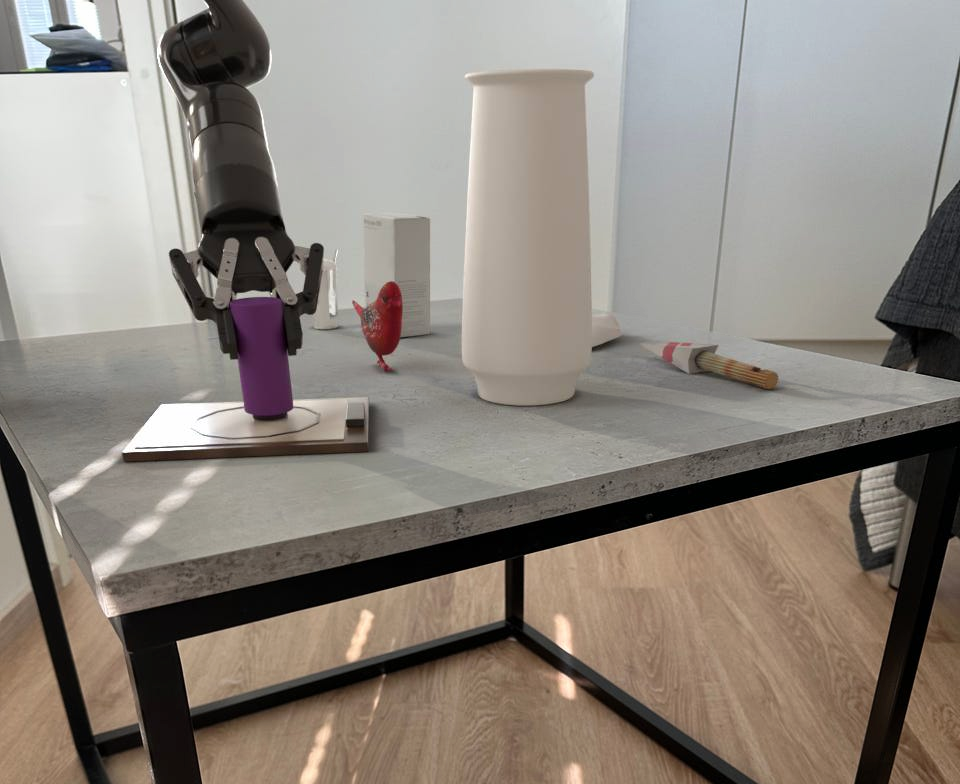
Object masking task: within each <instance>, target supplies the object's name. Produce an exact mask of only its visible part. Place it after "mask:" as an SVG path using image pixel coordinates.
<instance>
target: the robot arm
mask: <svg viewBox="0 0 960 784" xmlns="http://www.w3.org/2000/svg"><path fill="white" fill-rule="evenodd" d="M202 1H203V2H204V4H206V6H207V8H206V9H204V10H202V11H200V12H198V13H196V14H194V15H191V16H189V17H187V18H186V19H184V20H181V21H179V22H178V23H175V24H173V25H172V26H169V28H167V29H166V30H165V31H164V32H163V33H162V35H161V37H160V39H159V43H158V47H157V59H158V64H159V67H160V69H161V71H162V74H163V76H164V78H165V81H166V82H167V83H168V85H169V86H170V89H171V90H172V92H173V94H174V95H175V97H176V99H177V101H178V104H179V106H180V108H181V110H182V113H183V116H184V119H185V122H186V125H187V130H188V137H189V143H190V149H191V159H192V160H191V174H192V182H193V195H194V198H195V202H196V209H197V215H198V222H199V228H200V229H199V230H200V237H201V238H200V241H199V243H198V245H197V249H195V250H192V251H188V252H183V250H182V249H180V248H172V249H170V250H169V251H168V257H169V264H170V268H171V273H172V276H173V278H174V280H175V282H176V283H177V286H178V288H179V290H180V291H181V293H182V295H183V297H184V300H185V302H186V303H187V305H188V307H189V309H190V311H191V313H192V315H193V316H194V318H195V319H196V321H199V322H204V321H206V320H208V321H209V320H210V321H212V322H214V323H215V325H216V329H217V335H218V343H219V348H220V351H221V353H222V354H223V355H227V354H228V355H229V360H230V361H232V360H233V361H234V360H238V351H237V343H236V337H235V330H234V324H233V318H232V312H231V307H230V302H231V301H233V300H236V299H237V297H238V294H246V293H248V292H252V291H254V292H259V293H260V292H261V293H266V292H267V293H268V295H269V297H274V298H279V299H281V300H282V306H283V317H284V326H285V335H286V344H287V352H288V357H295V356H297V353H298V352H297V350H301V349H302V348H303V345H304V343H303V342H304V341H303V336H304V334H303V329H302V323H301V316H302V315H309V316H312V314H314V313H315V312H316V309H317V303H318V297H319V291H320V285H321V279H322V272H323V261H324V259H325V255H324V254H325V253H324V252H325V248H324V246H323V245H322V244H321V243H319V242H313V243H312V244H311V245H310V247H306V246H305V247H304V246H299V245H295V243H294V240H292V238H291V237H290V235H289V234H288V232H287V228H286V223H285V217H284V211H283V205H282V200H281V195H280V189H279V184H278V179H277V173H276V168H275V164H274V161H273V158H272V155H271V153H270V150H269V144H268V138H267V133H266V127H265V121H264V116H263V111H262V108H261V106H260V104H259V102H258V100H257V98H256V97H255V95H254V94H253V93H252V92H251V91H250V90H249V89H248V88H250V87H252V86H254V85H257V84H259V83H261V82H262V81H263V80H265V79H266V78H267V76H268V75H269V74H270V72H271V67H272V48H271V44H270V41H269V37H268V36H267V33H266V31H265V29H264V28H263V25H262V24H261V22H260V21H259V20H258V18H257V17H256V15H255V14H254V12H253V11H252V10H251V9H250V8H249V6H248V5H247V4H246V2H245V1H244V0H202ZM294 262H297V263H298V265H299V270H300V271H301V272H302V273H303V275H304V276H305V277H304V281H303V287H302V291H299V292H297V293H295V291H294V289H293V287H292V285H291V284H290V281H289V278H288V275H287V272H288V270H290V268H291V266H292V264H293V263H294ZM201 266H202V267H203V268H204V269H206V271H208V272H209V273H210V274H211V275H212V276H213V277H214V278H215V279H216V281H217V282H216V283H217V284H216V289H215V294H214V298H212V297H209V296H206V294H205V292H204V290H203V289H202V287H201V284H200V283H199V281H198V279H197V278H198V277H199V275H200V273H199V272H200V271H199V268H200V267H201Z"/></svg>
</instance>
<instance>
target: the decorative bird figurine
mask: <svg viewBox="0 0 960 784" xmlns="http://www.w3.org/2000/svg"><path fill="white" fill-rule="evenodd" d="M351 303H352V306H353V307H354V309H355V311H356V313H357V314H358V316H359V319H360V327H361V330H362V334H363V337H364V338H365V340H366V343H367V345H368V347H369V348H370V350H371V351H372V352H373V353H374V354H375V355H376V357H377V358H378V360H377V362H376V365H378V367H380V368H381V369H382V370H383V371H384V372H388V371H390V372H393V370H392V368H390V366H389V365H388V364H386V361H385V360H384V358H383V356H388V355H392V354H393V353H394V352H395V350H396V349H397V347H398V345H399V343H400V340H401V337H400V336H401V330H402V312H403V305H402V295H401V291H400V289H399V287H398V285H397V284H396V283H395V282H393V281H390V282H387V283H386V284H385V285H384V286H383V287H382V288H381V289H380V292H379V294H378V297H377V300H376V301H375V302H373V303H370V304H369V305H368V306H366V307H365V306H364V307H362V306H361V304H359V303H358V302H357V301H355V300H352V301H351Z"/></svg>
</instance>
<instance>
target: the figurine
mask: <svg viewBox="0 0 960 784" xmlns="http://www.w3.org/2000/svg"><path fill="white" fill-rule="evenodd" d="M622 335H624V333H623V331H622V330H621V328H620V324H619V322H618V321H617V319H616V317H615V316H614V315H613V314H611V313H599V312H597V311H593V310H592V348H594V347H597V346H599V345H602V344H605V343H606V342H607V343H608V342H609V341H612V340H615V339H617V338H619V337H621V336H622Z"/></svg>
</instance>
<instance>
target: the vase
mask: <svg viewBox="0 0 960 784" xmlns="http://www.w3.org/2000/svg"><path fill="white" fill-rule="evenodd" d="M594 77H595V73H594V71H592V70H585V69H584V70H583V69H566V68H565V69H563V68H560V69H559V68H544V69H543V68H537V69H536V68H533V69H532V68H531V69H503V70H487V71H486V70H485V71H484V70H483V71H475V72H470V73H466V74H465V75H464V80H465V81H466V82H467V83H468V84H470V85H471V86H472V88H473V90H472V91H473V93H472V109H471V110H472V111H471V125H470V126H471V127H470V143H469V144H470V145H469V159H468V178H467V196H466V197H467V199H466V216H465V217H466V218H465V236H464V237H465V239H464V262H463V283H462V284H463V286H462V313H461V314H462V316H461V361H462V364H463V366H464V367H465V368H466V369H468V370H469V372H470V373H471V374H472V376H473V378H474V380H475V384H476V390H477V395H478V396H479V397H480V398H481V399H482V400H485V401H486V402H490V403H493V404H499V405H506V406H522V407H523V406H525V407H528V406H530V407H531V406H545V405H553V404H557V403H561V402H562V403H563V402H565V401H567V400H570V399H572V397H573V396H574V395H575V392H576V387H577V383H578V380H579V377H580V375H581V374H582V372H583V371H584V370H585V369H586V368H587V367H588V366H590V364H591V362H592V351H593V350H592V349H593V347H592V311H593V306H592V305H593V302H592V299H593V298H592V258H591V257H592V256H591V253H592V252H591V251H592V250H591V219H590V216H591V215H590V191H589V190H590V188H589V159H588V156H589V155H588V135H587V133H588V132H587V110H586V109H587V107H586V106H587V105H586V84H587V83H589V82H590V81H591V80H593V78H594Z"/></svg>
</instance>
